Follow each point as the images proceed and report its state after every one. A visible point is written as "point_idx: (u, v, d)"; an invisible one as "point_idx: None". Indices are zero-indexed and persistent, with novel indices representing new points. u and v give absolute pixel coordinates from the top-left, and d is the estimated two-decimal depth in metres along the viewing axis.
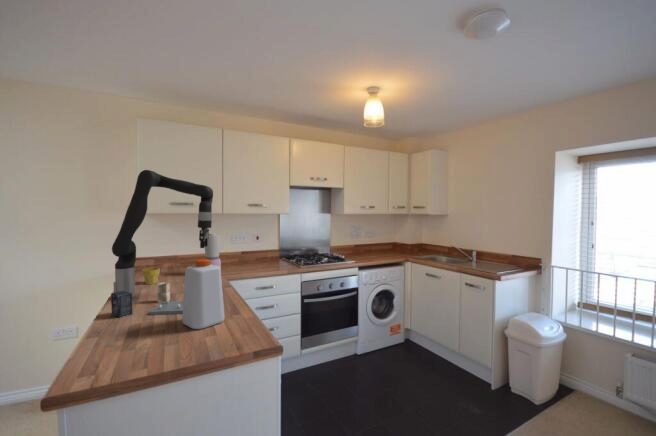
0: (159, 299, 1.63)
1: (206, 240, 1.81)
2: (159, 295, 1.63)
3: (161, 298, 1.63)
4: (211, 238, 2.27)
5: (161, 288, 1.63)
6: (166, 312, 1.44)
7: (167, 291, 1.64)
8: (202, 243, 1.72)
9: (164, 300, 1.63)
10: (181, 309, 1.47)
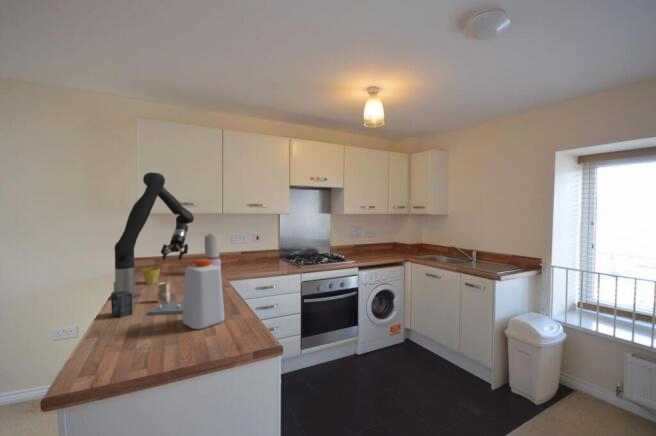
0: (159, 299, 1.63)
1: (166, 255, 1.78)
2: (159, 295, 1.63)
3: (161, 298, 1.63)
4: (211, 238, 2.27)
5: (161, 288, 1.63)
6: (166, 312, 1.44)
7: (167, 291, 1.64)
8: (182, 255, 1.78)
9: (164, 300, 1.63)
10: (181, 309, 1.47)
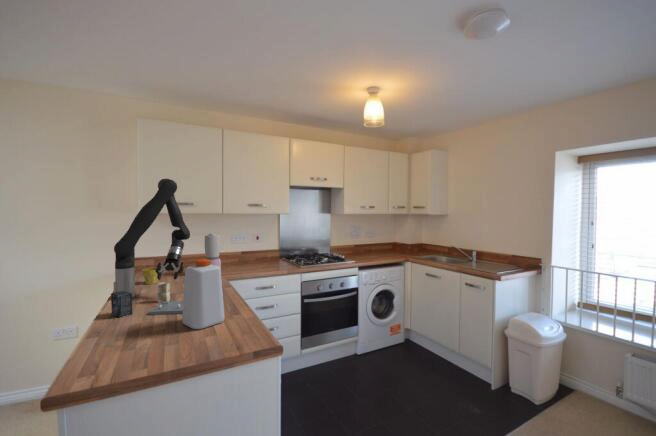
0: (159, 299, 1.63)
1: (161, 274, 1.71)
2: (159, 295, 1.63)
3: (161, 298, 1.63)
4: (211, 238, 2.27)
5: (161, 288, 1.63)
6: (166, 312, 1.44)
7: (167, 291, 1.64)
8: None
9: (164, 300, 1.63)
10: (181, 309, 1.47)
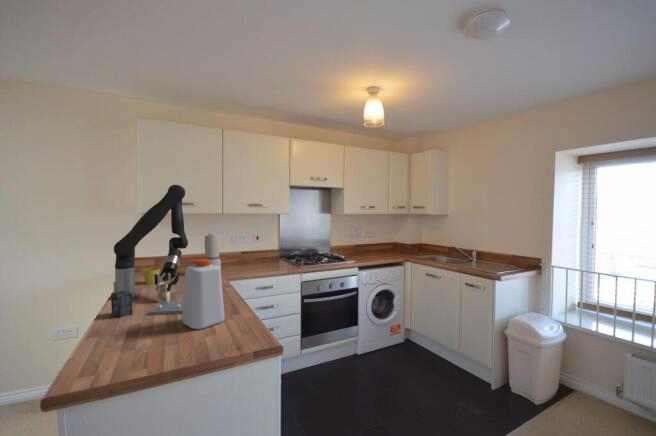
0: (159, 299, 1.63)
1: None
2: (159, 295, 1.63)
3: (161, 298, 1.63)
4: (211, 238, 2.27)
5: (161, 288, 1.63)
6: (166, 312, 1.44)
7: None
8: (171, 286, 1.66)
9: (164, 300, 1.63)
10: (181, 309, 1.47)
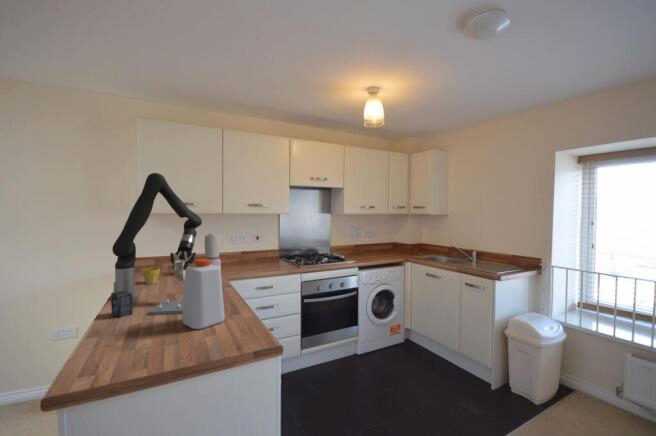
0: (176, 277, 1.60)
1: None
2: (176, 273, 1.60)
3: (178, 276, 1.60)
4: (211, 238, 2.27)
5: (178, 266, 1.60)
6: (166, 312, 1.44)
7: (183, 269, 1.62)
8: (187, 265, 1.64)
9: (181, 278, 1.61)
10: (181, 309, 1.47)
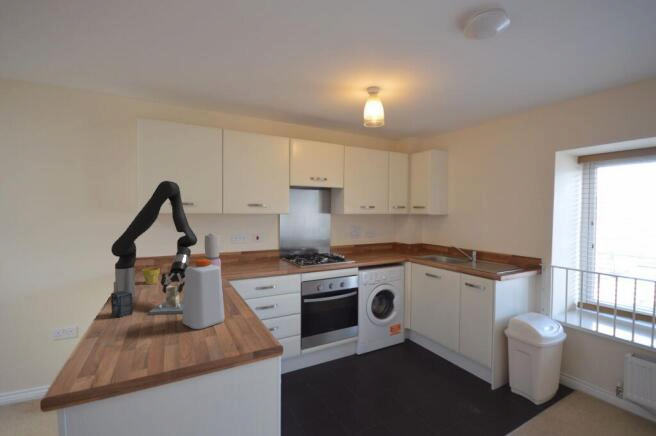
0: (168, 303, 1.50)
1: (167, 286, 1.54)
2: (168, 299, 1.50)
3: (170, 303, 1.50)
4: (211, 238, 2.27)
5: (170, 292, 1.50)
6: (166, 312, 1.44)
7: (176, 294, 1.51)
8: (182, 287, 1.54)
9: (173, 305, 1.50)
10: (181, 309, 1.47)
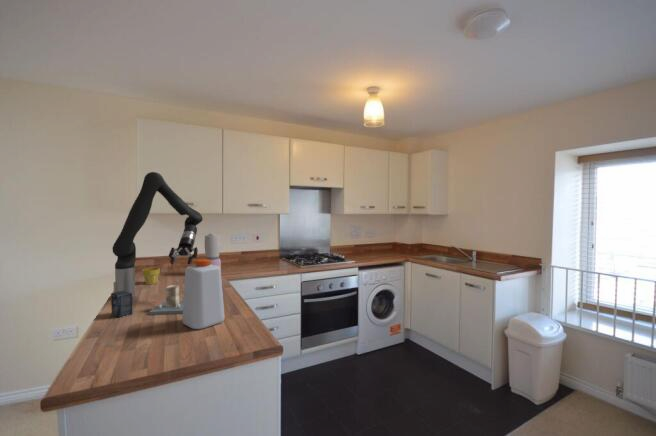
0: (168, 303, 1.50)
1: (174, 258, 1.65)
2: (168, 299, 1.50)
3: (170, 303, 1.50)
4: (211, 238, 2.27)
5: (170, 292, 1.50)
6: (166, 312, 1.44)
7: (176, 294, 1.51)
8: (191, 259, 1.65)
9: (173, 305, 1.50)
10: (181, 309, 1.47)
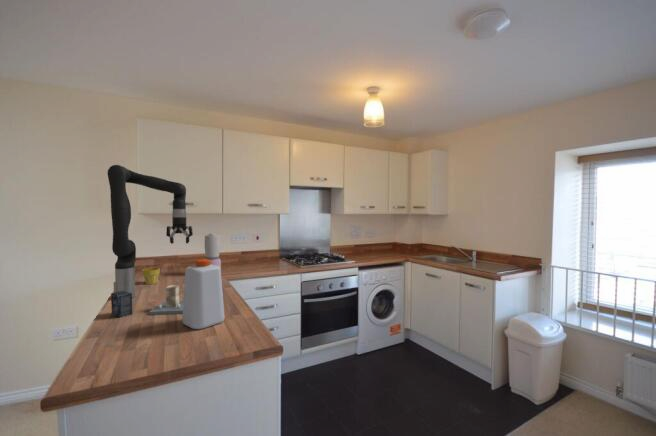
0: (168, 303, 1.50)
1: (172, 237, 1.81)
2: (168, 299, 1.50)
3: (170, 303, 1.50)
4: (211, 238, 2.27)
5: (170, 292, 1.50)
6: (166, 312, 1.44)
7: (176, 294, 1.51)
8: None
9: (173, 305, 1.50)
10: (181, 309, 1.47)
